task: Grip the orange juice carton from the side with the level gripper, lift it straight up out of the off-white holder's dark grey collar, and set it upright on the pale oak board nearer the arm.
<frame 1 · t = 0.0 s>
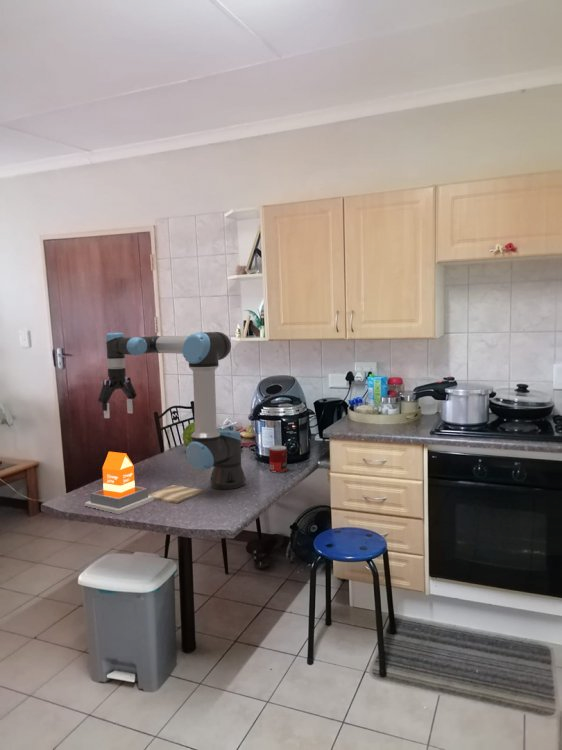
hand: (118, 415, 252), 28 cm above the table, tool pointing down, fingers open, 13 cm apart
lettuce: (202, 450, 305), on the table
orange juice: (119, 504, 218), resting in collar holder
collar holder: (119, 503, 218), on the table
oak board: (175, 495, 227), on the table
canned food: (278, 471, 261), on the table
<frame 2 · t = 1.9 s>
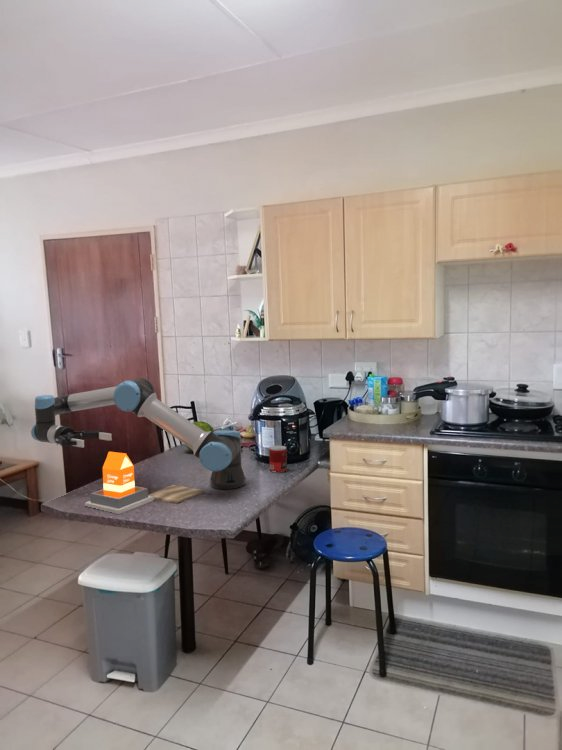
hand: (97, 440, 221), 24 cm above the table, tool horizontal, fingers open, 13 cm apart
nothing on the table moved.
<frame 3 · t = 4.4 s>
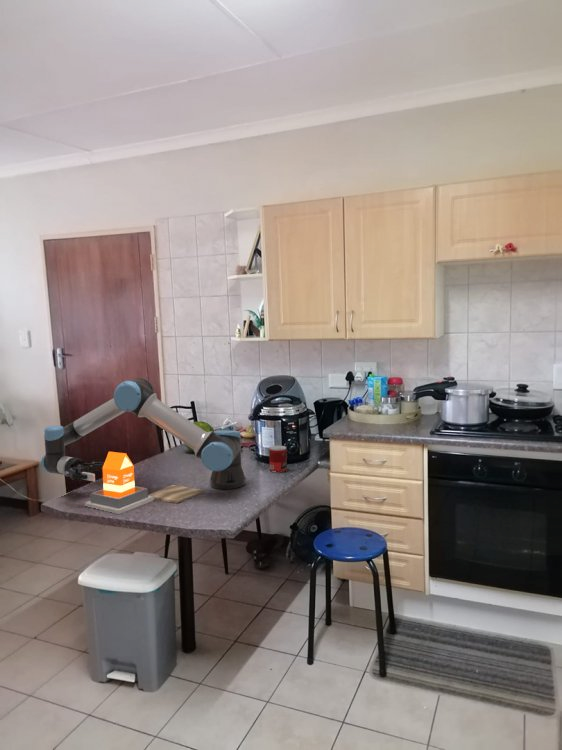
hand: (108, 473, 219), 11 cm above the table, tool horizontal, fingers open, 13 cm apart
nothing on the table moved.
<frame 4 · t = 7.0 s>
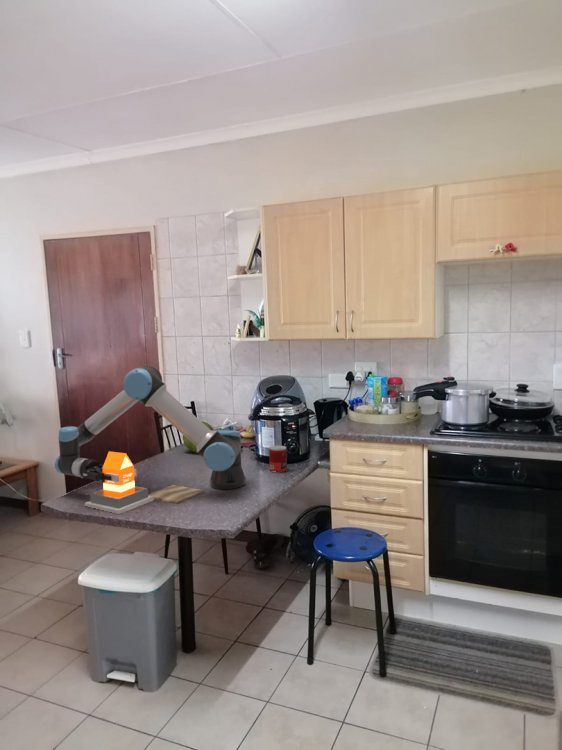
hand: (127, 475, 214), 12 cm above the table, tool horizontal, fingers closed on orange juice, 8 cm apart
orange juice: (119, 504, 218), resting in collar holder, touching gripper
everything else where it was.
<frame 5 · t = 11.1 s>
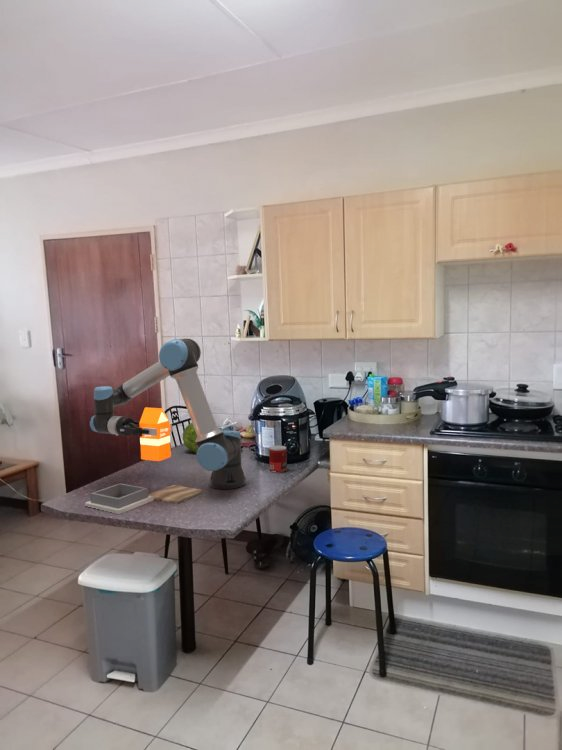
hand: (164, 430, 220), 27 cm above the table, tool horizontal, fingers closed on orange juice, 8 cm apart
orange juice: (156, 458, 224), point 16 cm above the table, touching gripper
everything else where it was.
when the fingers open (13 cm above the table, at t = 15.5 s): orange juice stays where it is, resting on oak board.
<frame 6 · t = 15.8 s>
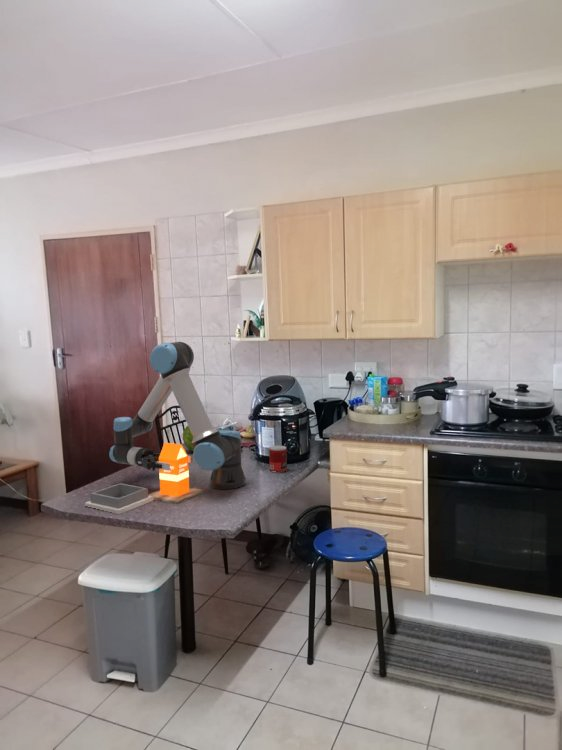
hand: (180, 463, 224), 13 cm above the table, tool horizontal, fingers open, 12 cm apart
orange juice: (174, 493, 227), point 1 cm above the table, touching oak board
everything else where it was.
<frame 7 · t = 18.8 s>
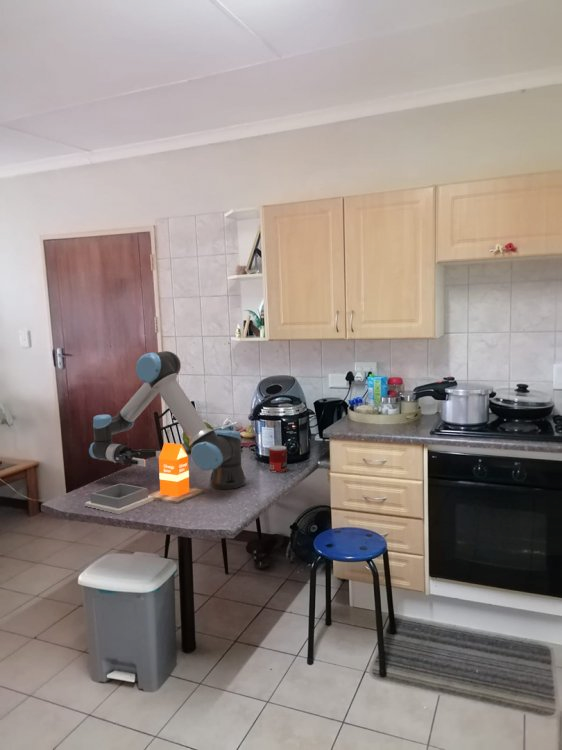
hand: (156, 459, 230), 14 cm above the table, tool horizontal, fingers open, 13 cm apart
nothing on the table moved.
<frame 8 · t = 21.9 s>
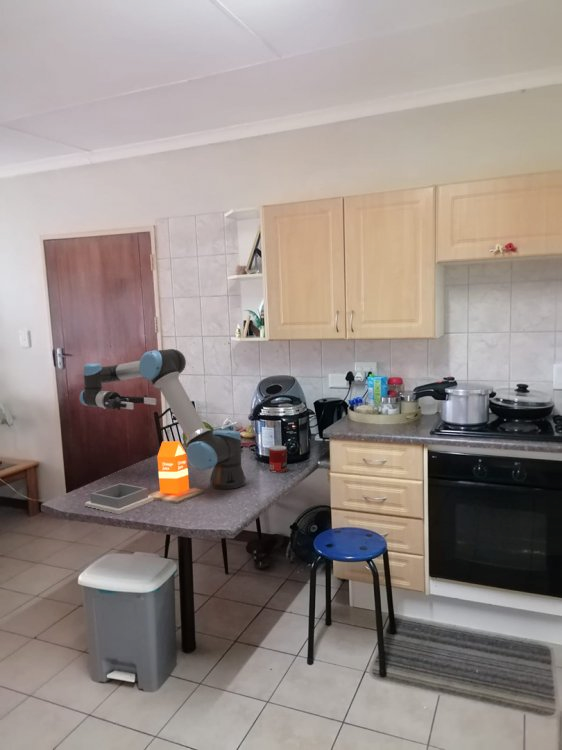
hand: (144, 403, 240), 35 cm above the table, tool horizontal, fingers open, 13 cm apart
orange juice: (174, 491, 227), point 1 cm above the table, touching arm, oak board
everything else where it was.
at the end: orange juice inside the target area on the oak board (0.2 cm from its centre), point 1.4 cm above the oak board's base; orange juice tilted 6°; the gripper is holding nothing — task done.
